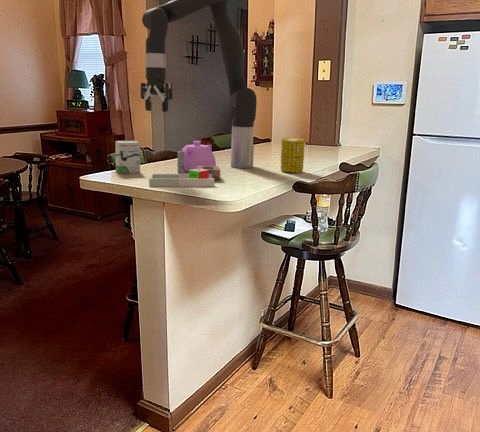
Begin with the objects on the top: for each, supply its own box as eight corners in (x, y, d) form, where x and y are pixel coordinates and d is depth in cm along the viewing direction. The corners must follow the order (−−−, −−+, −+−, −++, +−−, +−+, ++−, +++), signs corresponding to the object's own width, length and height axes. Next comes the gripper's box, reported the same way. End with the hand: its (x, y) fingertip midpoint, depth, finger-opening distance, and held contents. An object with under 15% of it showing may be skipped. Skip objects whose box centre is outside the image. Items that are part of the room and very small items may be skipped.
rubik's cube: (198, 185, 162) (198, 171, 161) (188, 183, 166) (188, 169, 164) (208, 184, 166) (209, 170, 165) (199, 182, 169) (199, 168, 168)
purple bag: (199, 176, 180) (200, 144, 177) (165, 172, 186) (165, 141, 183) (225, 168, 199) (226, 140, 196) (194, 165, 206) (194, 137, 203)
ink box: (118, 173, 180) (117, 142, 177) (115, 171, 184) (114, 140, 181) (141, 172, 184) (140, 141, 181) (137, 170, 188) (136, 140, 185)
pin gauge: (184, 178, 174) (184, 151, 172) (184, 179, 172) (184, 152, 169) (177, 178, 174) (177, 151, 171) (177, 179, 171) (177, 152, 169)
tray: (178, 180, 170) (178, 173, 169) (179, 186, 160) (179, 178, 160) (150, 180, 168) (150, 173, 168) (149, 186, 159) (149, 178, 158)
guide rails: (211, 180, 172) (211, 173, 171) (214, 186, 162) (214, 178, 161) (178, 180, 170) (178, 173, 169) (179, 186, 160) (179, 178, 160)
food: (303, 174, 200) (297, 179, 191) (277, 166, 203) (270, 170, 194) (313, 140, 194) (308, 143, 185) (287, 131, 197) (280, 134, 188)
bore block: (217, 176, 180) (217, 166, 179) (219, 180, 172) (220, 169, 171) (196, 176, 178) (196, 166, 177) (197, 180, 171) (198, 169, 170)
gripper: (176, 67, 175) (177, 112, 179) (149, 67, 182) (150, 110, 186) (162, 66, 169) (163, 112, 173) (134, 66, 176) (136, 110, 180)
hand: (156, 111), depth 180 cm, fingers open, 8 cm apart
